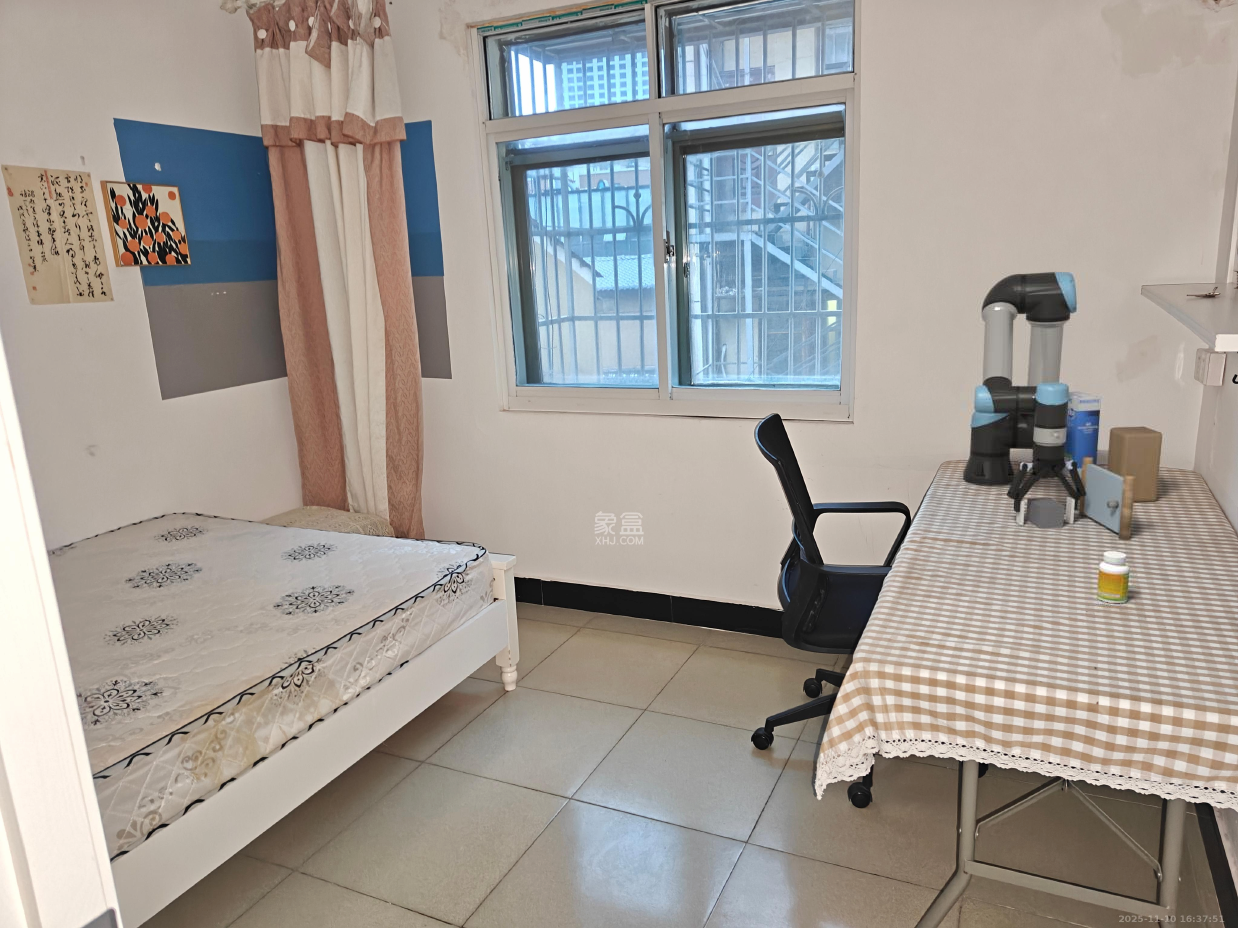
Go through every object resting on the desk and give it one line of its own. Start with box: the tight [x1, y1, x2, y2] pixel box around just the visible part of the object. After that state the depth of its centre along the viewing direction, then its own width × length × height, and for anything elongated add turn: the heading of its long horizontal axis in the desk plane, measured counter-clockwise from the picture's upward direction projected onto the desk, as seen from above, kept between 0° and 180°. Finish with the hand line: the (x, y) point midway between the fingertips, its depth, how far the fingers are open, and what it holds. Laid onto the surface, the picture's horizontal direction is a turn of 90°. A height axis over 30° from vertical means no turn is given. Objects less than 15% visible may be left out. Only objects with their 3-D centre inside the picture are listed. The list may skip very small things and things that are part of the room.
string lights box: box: [1061, 391, 1102, 478], centre depth 266 cm, size 13×8×26 cm, turn 1°
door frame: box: [1078, 457, 1135, 541], centre depth 214 cm, size 23×2×16 cm, turn 177°
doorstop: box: [1025, 497, 1065, 529], centre depth 220 cm, size 8×6×6 cm
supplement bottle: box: [1096, 550, 1130, 604], centre depth 170 cm, size 5×5×10 cm
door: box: [1084, 464, 1124, 533], centre depth 214 cm, size 17×4×14 cm, turn 177°
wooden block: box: [1106, 426, 1163, 503], centre depth 237 cm, size 10×10×20 cm
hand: (1044, 522), depth 221 cm, fingers open, 12 cm apart
